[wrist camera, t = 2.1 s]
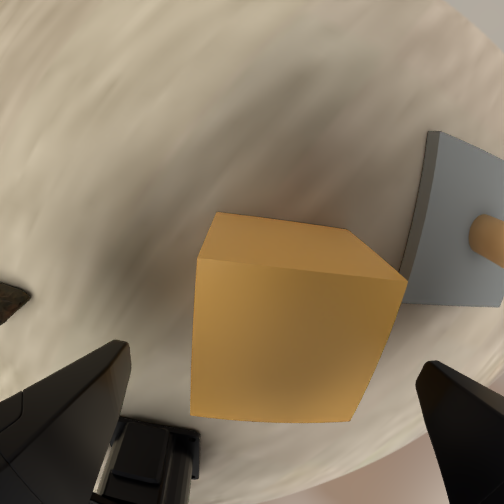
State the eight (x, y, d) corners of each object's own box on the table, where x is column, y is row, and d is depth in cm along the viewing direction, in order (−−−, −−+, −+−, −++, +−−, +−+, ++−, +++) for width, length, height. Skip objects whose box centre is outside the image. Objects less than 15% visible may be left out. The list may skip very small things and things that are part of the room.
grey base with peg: (490, 300, 14) (539, 340, 10) (392, 293, 14) (443, 351, 9) (522, 175, 12) (583, 191, 7) (427, 131, 11) (503, 132, 7)
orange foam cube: (319, 338, 15) (350, 421, 9) (205, 328, 14) (190, 415, 9) (347, 229, 13) (408, 281, 8) (216, 211, 12) (197, 257, 7)
